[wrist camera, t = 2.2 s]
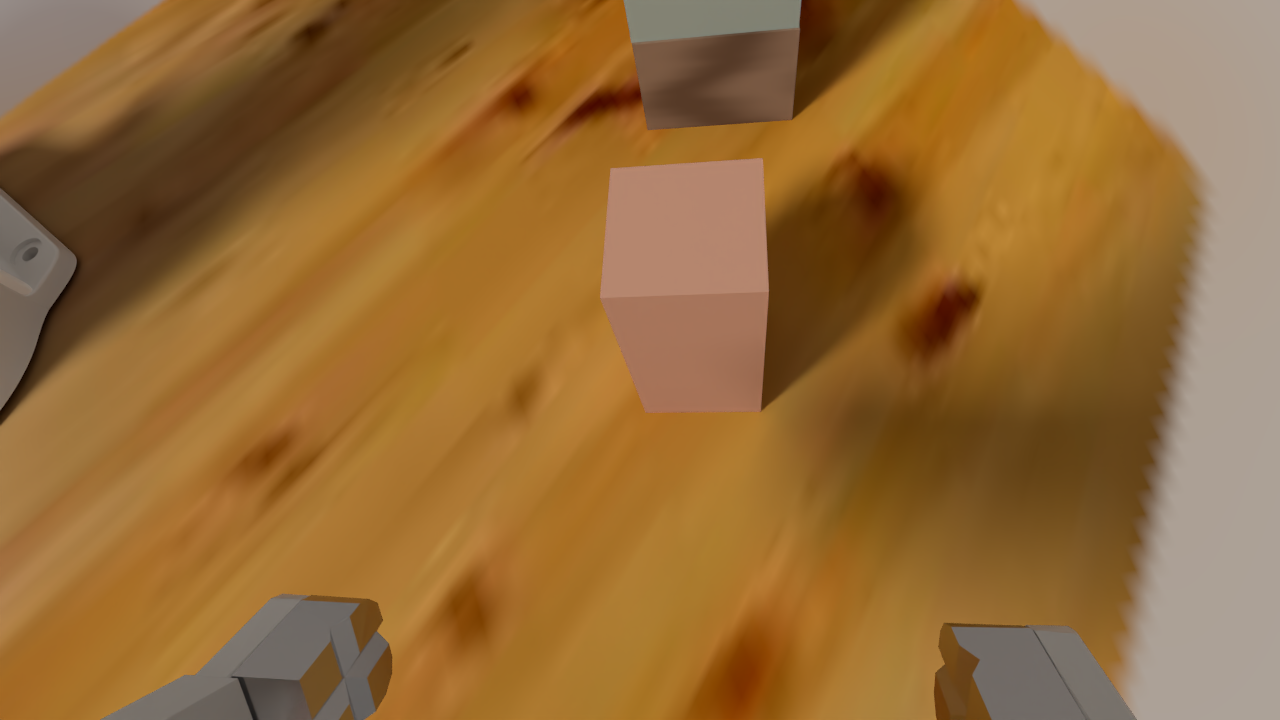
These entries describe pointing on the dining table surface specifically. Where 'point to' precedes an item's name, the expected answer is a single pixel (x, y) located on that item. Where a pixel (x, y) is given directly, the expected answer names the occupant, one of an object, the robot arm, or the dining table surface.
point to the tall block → (689, 283)
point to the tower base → (718, 78)
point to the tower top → (707, 17)
